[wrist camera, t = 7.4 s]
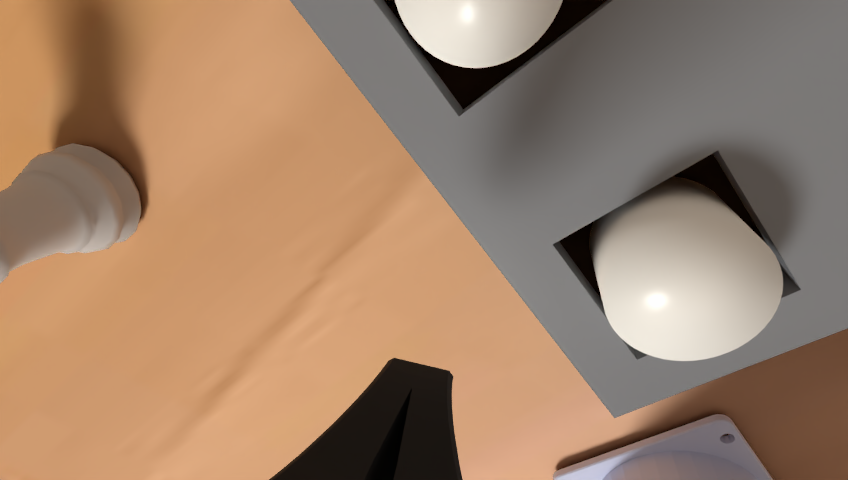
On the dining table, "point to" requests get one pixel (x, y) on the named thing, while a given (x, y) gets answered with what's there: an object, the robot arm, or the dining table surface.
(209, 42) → the dining table surface
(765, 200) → the button board
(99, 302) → the dining table surface
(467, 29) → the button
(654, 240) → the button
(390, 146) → the dining table surface
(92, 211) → the rook chess piece
